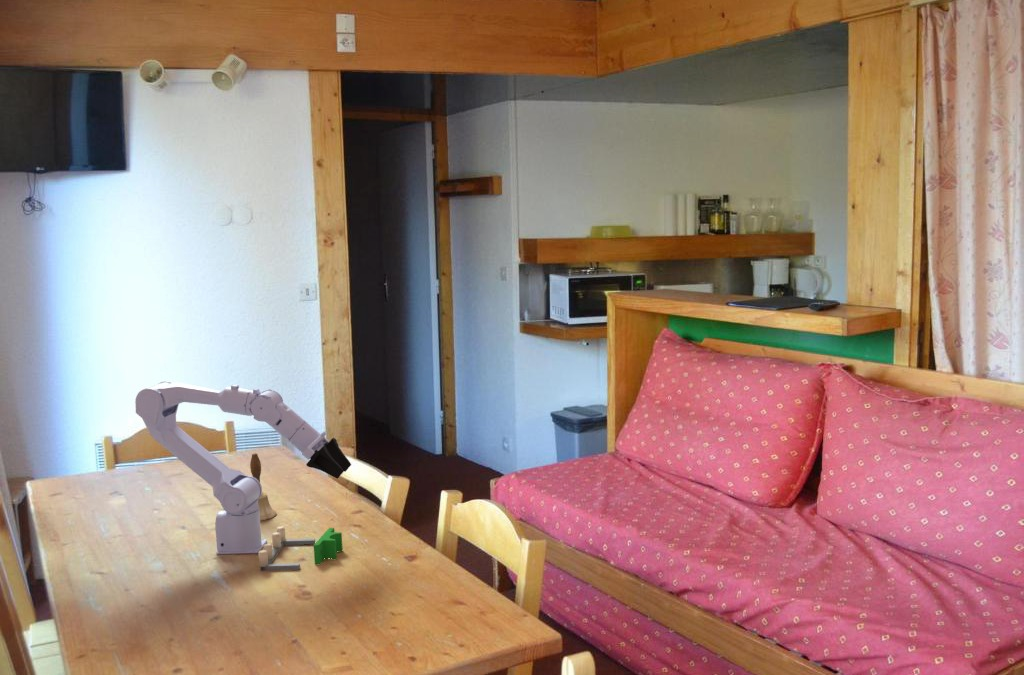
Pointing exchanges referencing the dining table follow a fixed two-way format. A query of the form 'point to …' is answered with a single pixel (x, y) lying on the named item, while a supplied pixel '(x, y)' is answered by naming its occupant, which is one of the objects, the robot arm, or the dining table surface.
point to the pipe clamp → (328, 546)
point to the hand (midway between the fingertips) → (344, 471)
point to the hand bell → (263, 502)
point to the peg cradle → (278, 542)
